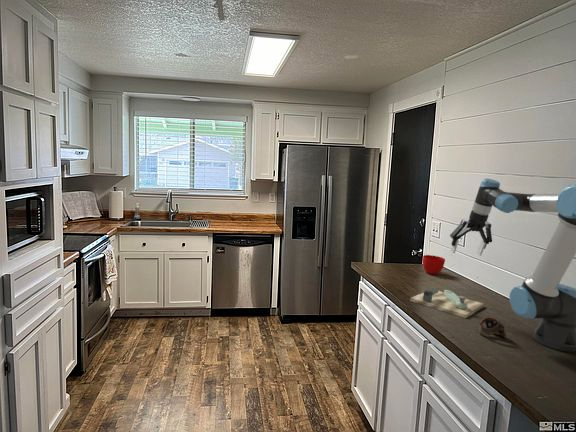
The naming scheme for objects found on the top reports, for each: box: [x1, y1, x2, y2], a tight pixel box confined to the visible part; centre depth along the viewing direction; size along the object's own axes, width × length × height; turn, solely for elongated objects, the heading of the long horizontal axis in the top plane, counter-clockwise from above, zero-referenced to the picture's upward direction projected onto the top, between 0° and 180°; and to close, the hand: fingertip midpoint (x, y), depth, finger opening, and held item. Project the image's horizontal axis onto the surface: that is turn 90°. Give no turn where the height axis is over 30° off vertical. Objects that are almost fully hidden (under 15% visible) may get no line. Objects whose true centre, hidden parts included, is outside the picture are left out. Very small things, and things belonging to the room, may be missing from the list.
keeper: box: [423, 287, 440, 302], centre depth 195 cm, size 3×10×4 cm, turn 138°
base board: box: [409, 290, 485, 319], centre depth 196 cm, size 26×25×7 cm
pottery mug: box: [478, 315, 507, 339], centre depth 162 cm, size 12×10×8 cm
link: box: [443, 289, 468, 309], centre depth 195 cm, size 22×5×2 cm, turn 178°
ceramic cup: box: [422, 254, 446, 276], centre depth 255 cm, size 13×17×10 cm
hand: (465, 253), depth 194 cm, fingers open, 13 cm apart
